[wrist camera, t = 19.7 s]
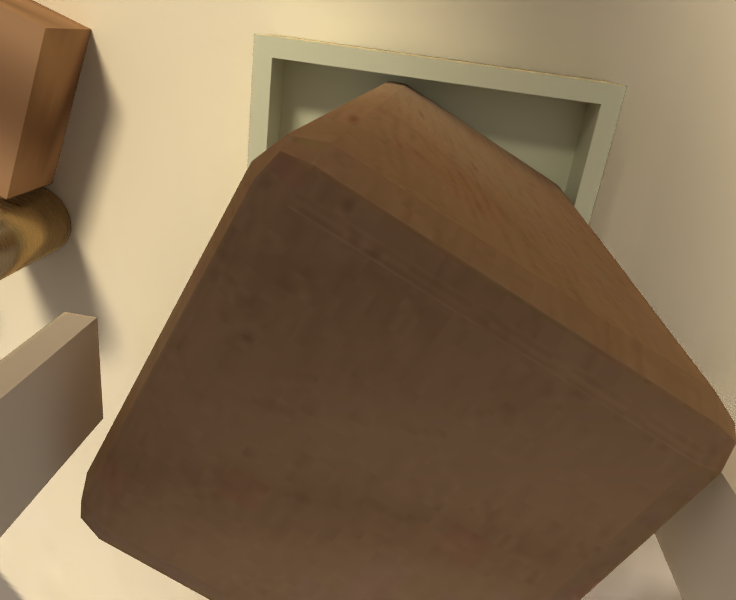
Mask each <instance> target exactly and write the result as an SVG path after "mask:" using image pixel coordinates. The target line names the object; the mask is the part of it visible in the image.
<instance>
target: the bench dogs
mask: <svg viewBox="0 0 736 600" xmlns="http://www.w3.org/2000/svg"><path fill="white" fill-rule="evenodd" d="M70 231H71V221H70V217H69V214H68V211H67V209H66V207H65V206H64V204H63V203H62V202H61V200H60V199H59V198H58V197H57V196H56V195H54V194H53V193H52V192H50V191H49V190H47V189H45V188H42V187H39V188H36V189H34V190H31V191H28V192H25V193H23V194H20V195H17V196H14V197H12V198H9V199H5V198H3V197H1V196H0V280H1V279H3V278H5V277H7V276H9V275H11V274H12V273H14V272H16V271H18V270H20V269H22V268H23V267H25V266H27V265H29V264H31V263H33V262H35V261H36V260H38V259H40V258H42V257H44V256H46V255H47V254H49V253H51V252H53V251H55V250H57V249H59V248H60V247H62V246H63V245H64V244H65V243H66V241H67V240H68V238H69V235H70Z"/></svg>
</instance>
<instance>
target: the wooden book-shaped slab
mask: <svg viewBox="0 0 736 600" xmlns="http://www.w3.org/2000/svg"><path fill="white" fill-rule="evenodd" d="M90 32H91V29H89V28H87V27H85V26H83V25H81V24H79V23H77V22H75V21H73V20H71V19H69V18H67V17H65V16H63V15H61V14H59V13H57V12H55V11H53V10H51V9H49V8H47V7H45V6H43V5H41V4H39V3H37V2H35V1H33V0H0V196H1V197H3V198H5V199H9V198H12V197H14V196H17V195H20V194H23V193H25V192H28V191H31V190H34V189H36V188H39V187H42V186H45V185H47V184H50V183H52V182H53V178H54V174H55V170H56V166H57V163H58V159H59V155H60V151H61V147H62V143H63V139H64V135H65V131H66V127H67V123H68V119H69V115H70V111H71V107H72V103H73V99H74V96H75V92H76V88H77V84H78V80H79V76H80V72H81V68H82V64H83V60H84V56H85V52H86V48H87V44H88V40H89V36H90Z"/></svg>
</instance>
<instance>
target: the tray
mask: <svg viewBox="0 0 736 600" xmlns="http://www.w3.org/2000/svg"><path fill="white" fill-rule="evenodd" d="M388 81H392V82H397V83H403V84H407V85H409V86H410V87H412V88H413V89H415V90H416V91H418V92H419V93H421V94H422V95H424V96H425V97H427V98H428V99H430V100H431V101H433V102H434V103H436V104H437V105H439V106H440V107H442V108H443V109H445V110H446V111H448V112H449V113H451V114H452V115H454V116H455V117H457V118H458V119H460V120H461V121H463V122H464V123H466V124H467V125H469V126H470V127H472V128H473V129H475V130H476V131H478V132H479V133H481V134H482V135H484V136H485V137H487V138H488V139H490V140H491V141H493V142H494V143H496V144H497V145H499V146H500V147H502V148H503V149H505V150H506V151H508V152H509V153H511V154H512V155H514V156H515V157H517V158H518V159H520V160H521V161H523V162H524V163H526V164H527V165H529V166H530V167H532V168H533V169H535V170H536V171H538V172H539V173H541V174H542V175H544V176H545V177H547V178H548V179H550V180H551V181H553V182H554V183H556V184H557V185H558V186H559V187H560V188H561V190H562V191H563V192H564V194H565V195H566V196H567V198H568V199H569V200H570V201H571V203H572V204H573V205H574V207H575V208H576V209H577V211H578V212H579V213H580V215H581V216H582V217H583V218H584V220H585V221H586V222H587V224H588V225H589V222H590V219H591V215H592V211H593V208H594V204H595V200H596V197H597V193H598V190H599V186H600V182H601V179H602V175H603V172H604V168H605V164H606V161H607V157H608V154H609V150H610V146H611V143H612V139H613V135H614V132H615V128H616V125H617V121H618V117H619V114H620V110H621V107H622V103H623V99H624V96H625V92H626V88H627V86H624V85H620V84H616V83H612V82H608V81H601V80H594V79H587V78H579V77H572V76H565V75H558V74H551V73H544V72H536V71H529V70H522V69H515V68H508V67H501V66H493V65H486V64H479V63H472V62H465V61H458V60H450V59H443V58H436V57H429V56H422V55H415V54H407V53H400V52H393V51H386V50H379V49H372V48H364V47H357V46H350V45H343V44H336V43H329V42H321V41H314V40H307V39H300V38H293V37H286V36H278V35H268V34H254V45H253V65H252V85H251V105H250V125H249V145H248V165H247V169H248V167H249V165H250V163H251V162H252V161H253V160H254V159H255V158H257V157H258V156H259V155H260V154H262V153H263V152H264V151H266V150H267V149H268V148H270V147H271V146H272V145H273V144H275V143H276V142H277V141H279V140H280V139H281V138H282V137H284V136H285V135H286V134H288V133H290V132H292V131H294V130H296V129H298V128H300V127H302V126H304V125H306V124H308V123H309V122H311V121H313V120H315V119H317V118H319V117H321V116H323V115H325V114H327V113H329V112H331V111H332V110H334V109H336V108H338V107H340V106H342V105H344V104H346V103H348V102H350V101H352V100H354V99H355V98H357V97H359V96H361V95H363V94H365V93H367V92H369V91H371V90H373V89H375V88H377V87H378V86H380V85H382V84H384V83H386V82H388Z"/></svg>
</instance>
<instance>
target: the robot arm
mask: <svg viewBox="0 0 736 600" xmlns="http://www.w3.org/2000/svg"><path fill="white" fill-rule="evenodd" d="M102 419H103V406H102V390H101V374H100V358H99V342H98V326H97V317H92V316H86V315H80V314H74V313H68V312H64V313H62V314H61V315H60V316H58V317H57V318H56V319H54V320H53V321H52V322H50V323H49V324H48V325H46V326H45V327H44V328H42V329H41V330H40V331H39V332H37V333H36V334H35V335H33V336H32V337H31V338H29V339H28V340H27V341H25V342H24V343H23V344H21V345H20V346H19V347H17V348H16V349H15V350H13V351H12V352H11V353H10V354H8V355H7V356H6V357H4V358H3V359H2V360H0V537H1V536H2V535H3V534H4V533H5V531H6V530H7V529H8V528H9V527H10V526H11V524H12V523H13V522H14V521H15V520H16V519H17V517H18V516H19V515H20V514H21V513H22V512H23V510H24V509H25V508H26V507H27V506H28V505H29V504H30V502H31V501H32V500H33V499H34V498H35V497H36V495H37V494H38V493H39V492H40V491H41V490H42V488H43V487H44V486H45V485H46V484H47V483H48V482H49V480H50V479H51V478H52V477H53V476H54V475H55V473H56V472H57V471H58V470H59V469H60V468H61V466H62V465H63V464H64V463H65V462H66V461H67V459H68V458H69V457H70V456H71V455H72V454H73V453H74V451H75V450H76V449H77V448H78V447H79V446H80V444H81V443H82V442H83V441H84V440H85V439H86V437H87V436H88V435H89V434H90V433H91V432H92V431H93V429H94V428H95V427H96V426H97V425H98V424H99V422H100V421H101V420H102ZM655 535H656V537H657V539H658V542H659V544H660V547H661V549H662V551H663V554H664V556H665V558H666V561H667V563H668V566H669V568H670V570H671V573H672V575H673V578H674V580H675V582H676V585H677V587H678V589H679V592H680V594H681V597H682V599H683V600H736V445H735V447H734V449H733V451H732V453H731V455H730V456H729V458H728V460H727V462H726V464H725V466H724V468H723V470H722V472H721V474H719V475H718V476H717V477H716V478H715V479H714V480H713V481H712V482H711V483H709V484H708V485H707V486H706V487H705V488H704V489H703V490H702V491H701V492H699V493H698V494H697V495H696V496H695V497H694V498H693V499H692V500H691V501H689V502H688V503H687V504H686V505H685V506H684V507H683V508H682V509H680V510H679V511H678V512H677V513H676V514H675V515H674V516H673V517H672V518H670V519H669V520H668V521H667V522H666V523H665V524H664V525H663V526H662V527H660V528H659V529H658V530H657V531H656V532H655Z"/></svg>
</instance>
